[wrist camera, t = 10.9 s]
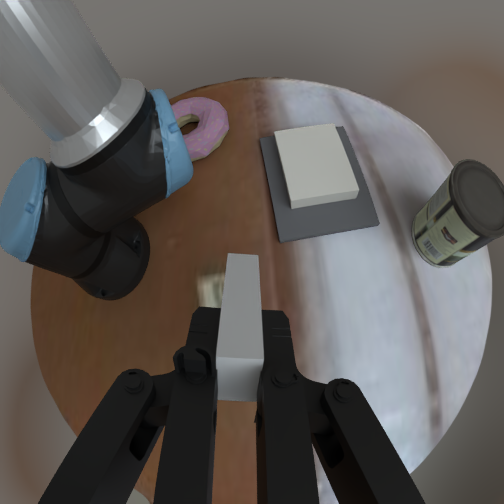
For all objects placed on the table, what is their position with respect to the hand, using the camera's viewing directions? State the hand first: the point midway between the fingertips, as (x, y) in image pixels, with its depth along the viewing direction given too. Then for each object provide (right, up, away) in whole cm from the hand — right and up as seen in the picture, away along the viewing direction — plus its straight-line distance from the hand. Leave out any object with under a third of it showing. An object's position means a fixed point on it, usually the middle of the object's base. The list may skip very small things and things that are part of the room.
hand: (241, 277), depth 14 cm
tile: (+11, +9, +24) cm, 28 cm away
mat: (+11, +13, +28) cm, 32 cm away
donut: (-11, +23, +35) cm, 43 cm away
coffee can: (+30, +4, +22) cm, 37 cm away
